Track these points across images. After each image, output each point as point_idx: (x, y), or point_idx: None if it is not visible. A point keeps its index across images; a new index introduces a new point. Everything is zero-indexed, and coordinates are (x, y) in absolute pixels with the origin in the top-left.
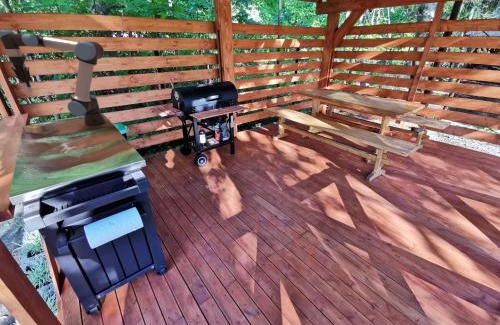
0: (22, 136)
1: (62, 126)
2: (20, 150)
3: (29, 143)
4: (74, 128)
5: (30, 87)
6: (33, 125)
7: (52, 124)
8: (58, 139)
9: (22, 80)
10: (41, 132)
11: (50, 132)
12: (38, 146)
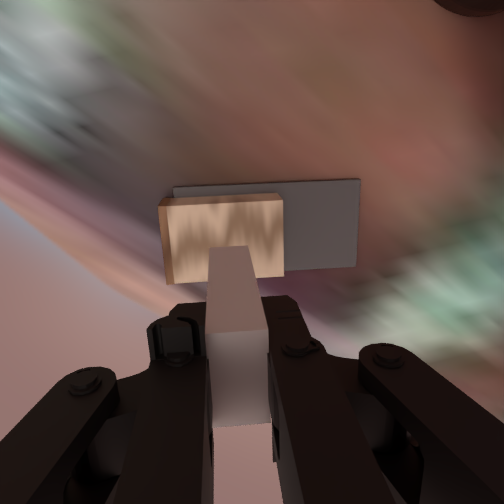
0: None
1: (277, 77)
2: None
3: None
4: (414, 100)
5: (254, 279)
6: (208, 239)
7: (135, 45)
8: (481, 298)
9: (212, 472)
10: (291, 249)
11: (349, 234)
12: (462, 388)
